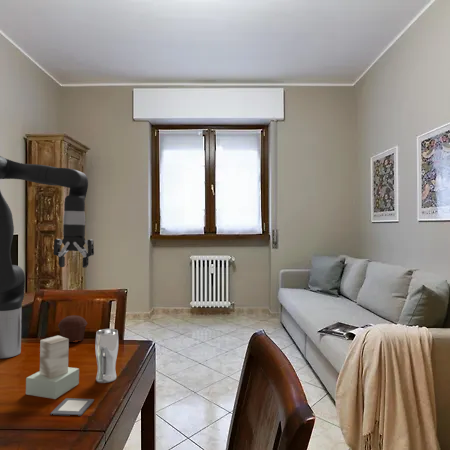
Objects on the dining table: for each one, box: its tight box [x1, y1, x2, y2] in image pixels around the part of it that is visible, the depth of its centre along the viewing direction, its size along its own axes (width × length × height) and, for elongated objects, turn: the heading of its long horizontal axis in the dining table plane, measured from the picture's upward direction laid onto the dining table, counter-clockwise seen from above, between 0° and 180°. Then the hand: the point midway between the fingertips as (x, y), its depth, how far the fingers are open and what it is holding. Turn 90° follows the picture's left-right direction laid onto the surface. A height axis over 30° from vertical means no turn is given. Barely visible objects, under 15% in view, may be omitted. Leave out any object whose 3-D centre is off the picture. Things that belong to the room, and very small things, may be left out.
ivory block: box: [39, 334, 70, 379], centre depth 104 cm, size 6×6×10 cm
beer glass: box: [94, 328, 119, 384], centre depth 112 cm, size 7×7×15 cm
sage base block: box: [25, 366, 80, 400], centre depth 104 cm, size 10×10×5 cm
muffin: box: [57, 315, 88, 342], centre depth 150 cm, size 12×11×10 cm
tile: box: [49, 397, 95, 417], centre depth 94 cm, size 8×8×1 cm
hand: (73, 267), depth 131 cm, fingers open, 8 cm apart
